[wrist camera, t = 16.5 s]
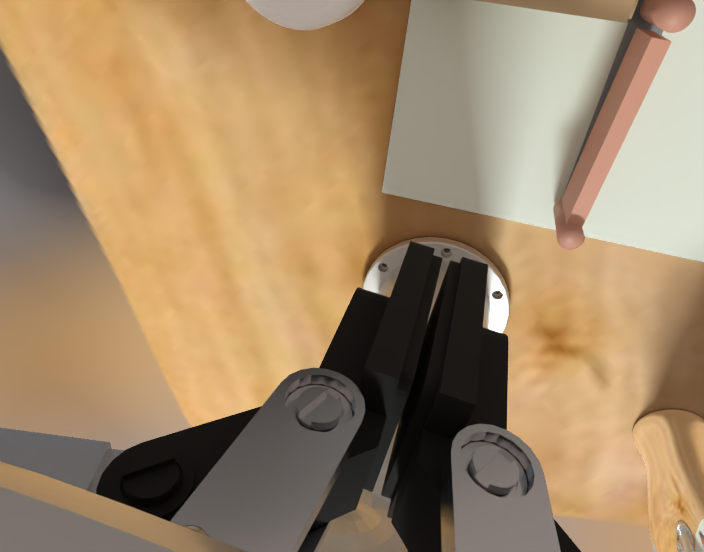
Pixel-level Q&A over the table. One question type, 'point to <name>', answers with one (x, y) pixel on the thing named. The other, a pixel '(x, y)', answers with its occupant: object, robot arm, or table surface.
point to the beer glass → (673, 478)
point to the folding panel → (618, 115)
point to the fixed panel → (579, 7)
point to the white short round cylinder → (305, 12)
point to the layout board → (547, 121)
